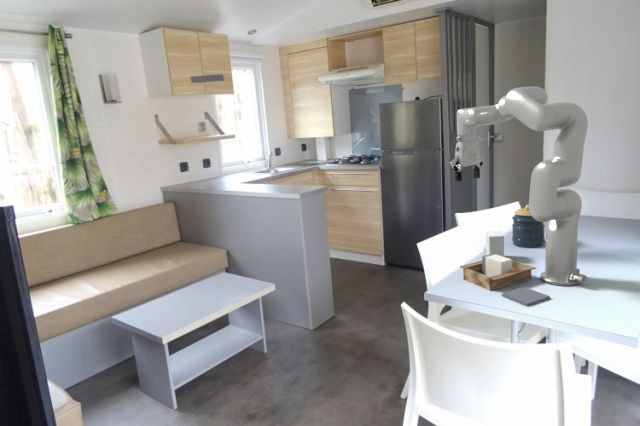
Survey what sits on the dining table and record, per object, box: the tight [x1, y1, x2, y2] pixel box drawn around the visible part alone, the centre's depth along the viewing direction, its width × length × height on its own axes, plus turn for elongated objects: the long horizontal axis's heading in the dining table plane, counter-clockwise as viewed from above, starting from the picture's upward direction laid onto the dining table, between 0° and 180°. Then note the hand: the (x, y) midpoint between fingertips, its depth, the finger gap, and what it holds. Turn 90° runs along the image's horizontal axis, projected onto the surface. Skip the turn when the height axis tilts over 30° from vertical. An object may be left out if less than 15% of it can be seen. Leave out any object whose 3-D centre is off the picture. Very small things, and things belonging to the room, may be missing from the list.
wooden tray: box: [459, 259, 537, 291], centre depth 161 cm, size 17×19×4 cm
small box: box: [485, 230, 505, 257], centre depth 182 cm, size 8×6×10 cm
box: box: [481, 253, 513, 277], centre depth 161 cm, size 9×5×8 cm, turn 24°
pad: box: [501, 286, 551, 307], centre depth 144 cm, size 10×10×1 cm
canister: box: [511, 204, 546, 248], centre depth 196 cm, size 13×13×18 cm
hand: (467, 179), depth 190 cm, fingers open, 9 cm apart
